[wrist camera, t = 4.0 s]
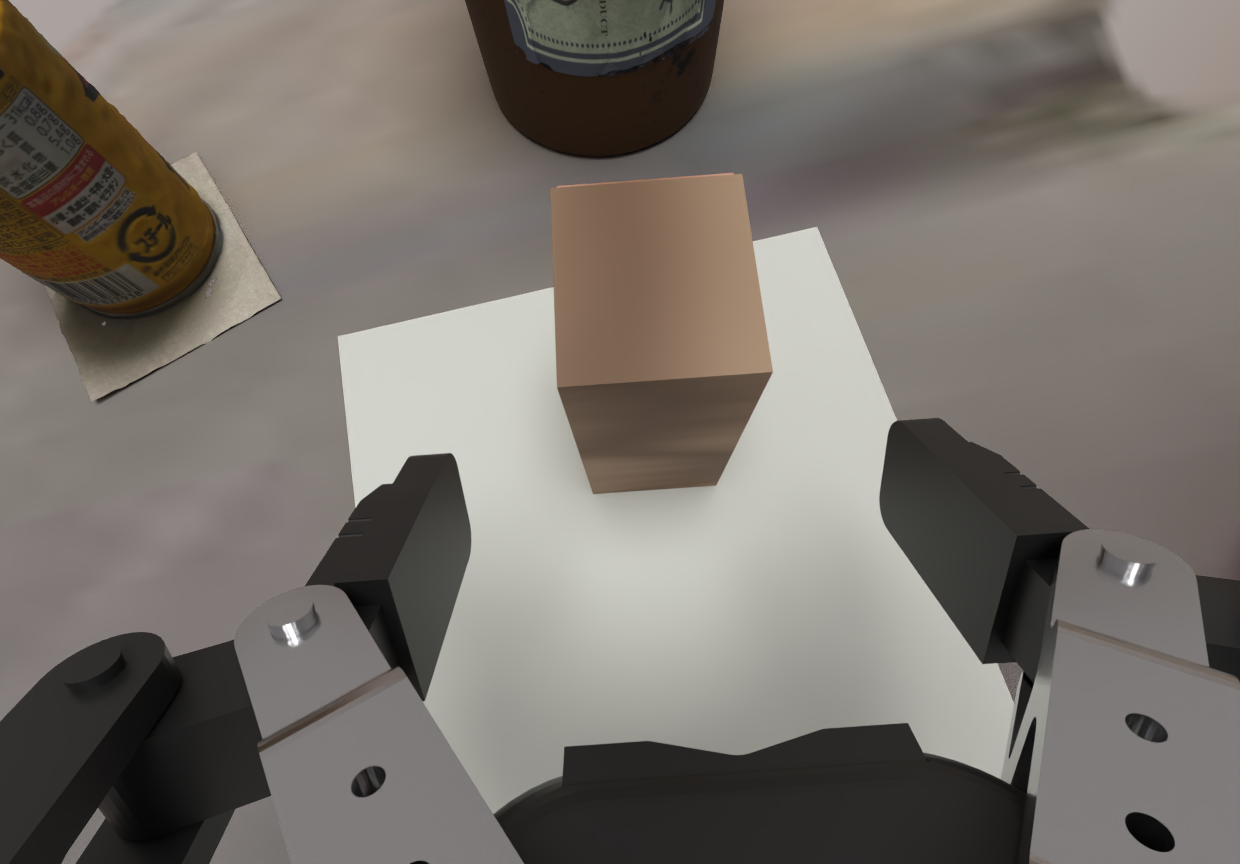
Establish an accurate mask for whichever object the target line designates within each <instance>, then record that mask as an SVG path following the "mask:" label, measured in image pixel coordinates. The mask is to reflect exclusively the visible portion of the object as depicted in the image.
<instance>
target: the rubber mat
mask: <svg viewBox="0 0 1240 864" xmlns="http://www.w3.org/2000/svg"><path fill="white" fill-rule="evenodd" d="M753 247H754V253H755V260H756V266H757V273H758V279H759V286H760V292H761V298H762V305H763V311H764V318H765V324H766V330H767V337H768V343H769V350H770V356H771V363H772V369H773V373H772V375H771V377H770V379H769V381H768V383H767V385H766V387H765V389H764V391H763V393H762V395H761V397H760V399H759V401H758V403H757V405H756V407H755V409H754V411H753V413H752V415H751V417H750V419H749V421H748V423H747V425H746V427H745V429H744V431H743V433H742V435H741V437H740V439H739V441H738V443H737V445H736V447H735V449H734V451H733V453H732V455H731V457H730V459H729V461H728V463H727V465H726V467H725V469H724V471H723V473H722V475H721V477H720V479H719V481H718V483H717V485H716V486H703V487H689V488H674V489H660V490H646V491H631V492H617V493H603V494H593V492H592V489H591V486H590V483H589V480H588V478H587V475H586V472H585V469H584V466H583V463H582V460H581V457H580V454H579V451H578V448H577V445H576V442H575V439H574V436H573V433H572V430H571V427H570V424H569V421H568V419H567V416H566V413H565V410H564V407H563V404H562V401H561V398H560V395H559V392H558V389H557V374H556V344H555V314H554V287H552V288H548V289H543V290H539V291H535V292H530V293H526V294H521V295H517V296H513V297H508V298H504V299H500V300H495V301H491V302H486V303H482V304H478V305H473V306H469V307H465V308H460V309H456V310H451V311H447V312H443V313H438V314H434V315H430V316H425V317H421V318H416V319H412V320H408V321H403V322H399V323H395V324H390V325H386V326H381V327H377V328H373V329H368V330H364V331H360V332H355V333H351V334H347V335H342V336H338V344H339V353H340V363H341V373H342V382H343V392H344V401H345V411H346V421H347V430H348V440H349V449H350V459H351V469H352V478H353V488H354V497H355V507H357V505H358V504H359V502H360V501H361V500H362V499H363V498H365V497H366V496H367V495H369V494H370V493H371V492H372V491H374V490H375V489H376V488H378V487H379V486H380V485H382V484H393V482H394V480H395V479H396V477H397V475H398V474H399V472H400V470H401V469H402V467H403V465H404V463H405V462H406V460H407V459H408V457H410V456H415V455H429V454H442V453H452V454H453V456H454V457H455V459H456V462H457V466H458V470H459V475H460V479H461V484H462V489H463V493H464V498H465V502H466V507H467V512H468V516H469V521H470V527H471V553H470V557H469V561H468V564H467V567H466V570H465V574H464V577H463V580H462V583H461V587H460V590H459V593H458V596H457V599H456V603H455V606H454V609H453V612H452V616H451V619H450V622H449V625H448V628H447V632H446V635H445V638H444V641H443V645H442V648H441V651H440V654H439V657H438V661H437V664H436V667H435V670H434V674H433V677H432V680H431V683H430V686H429V690H428V693H427V696H426V699H425V701H423V703H424V705H425V706H426V708H427V709H428V711H429V713H430V714H431V716H432V717H433V719H434V721H435V722H436V724H437V725H438V727H439V729H440V730H441V732H442V733H443V735H444V737H445V738H446V740H447V741H448V743H449V745H450V746H451V748H452V749H453V751H454V753H455V754H456V756H457V757H458V759H459V761H460V762H461V764H462V765H463V767H464V769H465V770H466V772H467V773H468V775H469V777H470V778H471V780H472V781H473V783H474V785H475V786H476V788H477V789H478V791H479V793H480V794H481V796H482V797H483V799H484V801H485V802H486V804H487V805H488V807H489V808H490V810H491V812H492V813H493V814H494V813H495V812H497V811H498V810H499V809H500V808H502V807H503V806H504V805H506V804H507V803H508V802H510V801H511V800H513V799H514V798H516V797H518V796H519V795H521V794H523V793H524V792H526V791H528V790H529V789H531V788H533V787H536V786H538V785H540V784H542V783H544V782H546V781H548V780H551V779H554V778H557V777H560V776H563V761H564V747H566V746H581V745H595V744H610V743H624V742H639V741H653V742H658V743H664V744H670V745H676V746H682V747H688V748H694V749H700V750H706V751H712V752H718V753H724V754H730V755H745V754H749V753H752V752H755V751H758V750H761V749H764V748H767V747H770V746H773V745H776V744H779V743H782V742H785V741H788V740H791V739H794V738H797V737H800V736H803V735H806V734H809V733H812V732H815V731H818V730H821V729H826V728H841V727H855V726H869V725H884V724H898V723H908V724H909V726H910V728H911V730H912V732H913V734H914V736H915V738H916V740H917V741H918V743H919V745H920V747H921V749H922V751H923V752H924V753H929V754H934V755H937V756H941V757H945V758H949V759H952V760H956V761H958V762H961V763H964V764H967V765H969V766H972V767H975V768H977V769H980V770H982V771H984V772H986V773H988V774H991V775H993V776H995V777H997V778H999V779H1001V775H1002V769H1003V764H1004V758H1005V753H1006V747H1007V741H1008V736H1009V730H1010V725H1011V719H1012V714H1013V708H1014V702H1013V700H1012V697H1011V695H1010V692H1009V690H1008V688H1007V685H1006V683H1005V680H1004V678H1003V675H1002V673H1001V671H1000V668H999V666H998V663H993V664H982V663H981V661H980V660H979V659H978V657H977V656H976V654H975V653H974V651H973V650H972V649H971V647H970V646H969V644H968V643H967V642H966V640H965V639H964V637H963V636H962V635H961V633H960V632H959V630H958V629H957V627H956V626H955V625H954V623H953V622H952V620H951V619H950V618H949V616H948V615H947V613H946V612H945V610H944V609H943V608H942V606H941V605H940V603H939V602H938V601H937V599H936V598H935V596H934V595H933V593H932V592H931V591H930V589H929V588H928V586H927V585H926V584H925V582H924V581H923V579H922V578H921V576H920V575H919V574H918V572H917V571H916V569H915V568H914V567H913V565H912V564H911V562H910V561H909V560H908V558H907V557H906V555H905V554H904V552H903V551H902V550H901V548H900V547H899V545H898V544H897V543H896V541H895V540H894V538H893V537H892V535H891V534H890V533H889V531H888V530H887V528H886V527H885V524H884V522H883V519H882V516H881V512H880V504H879V495H880V487H881V480H882V473H883V466H884V459H885V452H886V444H887V437H888V432H889V429H890V427H891V425H892V424H893V423H894V422H895V421H897V419H896V417H895V414H894V412H893V409H892V407H891V405H890V402H889V400H888V397H887V395H886V393H885V390H884V388H883V385H882V383H881V380H880V378H879V376H878V373H877V371H876V368H875V366H874V364H873V361H872V359H871V356H870V354H869V351H868V349H867V347H866V344H865V342H864V339H863V337H862V334H861V332H860V330H859V327H858V325H857V322H856V320H855V318H854V315H853V313H852V310H851V308H850V305H849V303H848V301H847V298H846V296H845V293H844V291H843V289H842V286H841V284H840V281H839V279H838V276H837V274H836V272H835V269H834V267H833V264H832V262H831V260H830V257H829V255H828V252H827V250H826V247H825V245H824V243H823V240H822V238H821V235H820V233H819V231H818V228H817V227H814V228H810V229H806V230H801V231H797V232H793V233H788V234H784V235H779V236H775V237H771V238H766V239H762V240H758V241H753Z"/></svg>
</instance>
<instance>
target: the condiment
mask: <svg viewBox="0 0 1240 864" xmlns="http://www.w3.org/2000/svg"><path fill="white" fill-rule="evenodd" d="M0 258H1V259H3V260H4V261H6V262H8V263H9V264H11V265H12V266H14V267H16V268H17V269H19V270H21V271H22V272H23V273H25V274H26V275H28V276H30V277H32V278H33V279H35V280H36V281H38V282H40V283H42V284H43V285H45V287H46V290H47V292H48V295H49V297H50V302H51V303H52V304H53V306H54V309H55V313H56V316H57V319H58V320H59V322H60V328H61V331H62V333H63V335H64V336H65V338H66V340H67V342H68V345H69V348H70V350H71V352H72V354H73V356H74V358H75V361H76V363H77V365H78V368H79V372H80V375H81V379H82V382H83V384H84V385H85V387H86V389H87V392H88V394H89V397H90V399H91V401H94V400H96V399H98V398H101V397H102V396H104V395H106V394H108V393H110V392H112V391H113V390H116V389H120V388H123V387H125V386H126V385H128V384H129V383H131V382H133V381H135V380H137V379H139V378H141V377H143V376H145V375H147V374H148V373H150V372H152V371H153V370H155V369H157V368H159V367H162V366H164V365H166V364H168V363H170V362H172V361H173V360H175V359H177V358H179V357H180V356H182V355H184V354H186V353H187V352H189V351H191V350H193V349H194V348H196V347H198V346H200V345H202V344H206V343H207V342H210V341H211V340H212V339H213V338H214V337H216V336H217V335H219V334H220V333H222V332H224V331H225V330H227V329H229V328H230V327H232V326H234V325H236V324H238V323H240V322H242V321H244V320H246V319H248V318H250V317H251V316H253V315H254V314H255V313H256V312H258V311H260V310H262V309H263V308H265V307H267V306H269V305H270V304H272V303H274V302H276V301H278V300H279V299H281V297H280V296H279V294H278V292H277V290H276V289H275V287H274V286H273V284H272V282H271V281H270V279H269V277H268V275H267V273H266V271H265V270H264V268H263V267H262V265H261V263H260V262H259V260H258V258H257V256H256V255H255V253H254V251H253V249H252V248H251V246H250V244H249V243H248V241H247V239H246V237H245V235H244V234H243V232H242V230H241V228H240V227H239V225H238V223H237V221H236V219H235V217H234V216H233V214H232V212H231V210H230V209H229V207H228V205H227V204H226V202H225V200H224V199H223V197H222V195H221V193H220V192H219V190H218V188H217V186H216V184H215V183H214V181H213V180H212V178H211V176H210V175H209V173H208V171H207V169H206V167H205V166H204V164H203V163H202V161H201V159H200V158H199V156H198V155H197V153H196V152H194V153H192V154H191V155H189V156H188V157H185V158H183V159H181V160H179V161H177V162H175V163H173V164H171V165H170V164H169V163H168V162H167V161H166V160H165V159H164V158H163V157H162V156H161V155H160V154H159V153H158V152H157V151H156V150H155V149H154V148H153V147H152V146H151V145H150V144H149V143H148V142H147V141H146V140H145V139H144V138H143V137H142V136H141V134H140V133H139V132H138V131H137V130H136V129H135V128H134V127H133V126H132V125H131V124H130V123H129V122H128V121H127V120H126V118H125V117H124V116H123V115H121V114H120V113H119V111H118V110H117V109H116V108H115V106H113V105H111V104H110V103H108V102H107V101H106V100H105V99H104V98H103V97H102V96H101V95H100V93H99V92H98V91H97V89H96V88H95V87H94V86H92V85H91V84H90V83H88V82H87V81H86V80H85V78H84V77H83V76H81V75H80V74H79V73H78V72H77V71H76V70H75V69H74V68H73V67H72V66H71V65H70V64H69V63H68V61H67V60H66V59H65V58H63V57H62V55H61V54H60V53H59V52H58V51H57V50H56V49H55V48H54V47H53V46H51V45H50V44H49V42H48V41H47V40H46V39H45V38H44V37H43V36H42V35H41V34H40V33H39V32H38V31H37V30H36V29H35V28H34V26H33V25H32V24H31V23H30V22H29V21H28V19H27V18H25V17H24V16H23V15H22V14H21V13H20V12H19V11H18V10H17V8H16V7H15V6H13V5H12V4H11V3H10V2H9V1H8V0H0ZM218 275H219V276H218ZM214 278H216V281H215V283H214V285H213V286H212V293H211V296H210V297H208V298H207V297H205V296H206V291H207V290H208V288H209V287H210V286H209V285H208V284H209V282H210V280H211V279H214ZM104 321H105V322H106V325H105V326H103V325H101V323H103V322H104Z"/></svg>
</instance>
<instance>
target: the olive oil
mask: <svg viewBox="0 0 1240 864" xmlns="http://www.w3.org/2000/svg"><path fill="white" fill-rule="evenodd" d="M465 2H466V5H467V8H468V11H469V15H470V18H471V21H472V25H473V28H474V31H475V34H476V38H477V41H478V44H479V48H480V51H481V54H482V57H483V61H484V64H485V67H486V71H487V74H488V77H489V80H490V83H491V86H492V90H493V92H494V95H495V98H496V100H497V102H498V104H499V106H500V108H501V110H502V111H503V113H504V114H505V116H506V117H507V118H508V119H509V121H510V122H511V123H512V124H513V125H514V126H515V127H516V128H517V129H518V130H520V131H521V132H522V133H523V134H525V135H526V136H528V137H529V138H531V139H533V140H534V141H536V142H538V143H540V144H542V145H544V146H547V147H549V148H552V149H555V150H558V151H562V152H566V153H571V154H577V155H585V156H609V155H617V154H623V153H628V152H632V151H636V150H639V149H642V148H645V147H648V146H650V145H653V144H655V143H657V142H659V141H661V140H663V139H665V138H666V137H668V136H670V135H671V134H673V133H674V132H676V131H677V130H678V129H679V128H681V127H682V126H683V125H684V124H685V123H686V122H687V121H688V120H689V119H690V118H691V117H692V116H693V115H694V114H695V112H696V111H697V110H698V108H699V107H700V105H701V104H702V102H703V100H704V98H705V96H706V94H707V91H708V88H709V85H710V82H711V77H712V73H713V67H714V61H715V55H716V49H717V42H718V36H719V29H720V23H721V17H722V10H723V4H724V0H465Z"/></svg>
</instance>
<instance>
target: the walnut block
mask: <svg viewBox="0 0 1240 864" xmlns="http://www.w3.org/2000/svg"><path fill="white" fill-rule="evenodd" d="M550 193H551V223H552V253H553V283H554V314H555V344H556V374H557V389H558V392H559V395H560V398H561V401H562V404H563V407H564V410H565V413H566V416H567V419H568V421H569V424H570V427H571V430H572V433H573V436H574V439H575V442H576V445H577V448H578V451H579V454H580V457H581V460H582V463H583V466H584V469H585V472H586V475H587V478H588V480H589V483H590V486H591V489H592V492H593V494H603V493H617V492H631V491H646V490H660V489H674V488H689V487H703V486H716V485H717V483H718V481H719V479H720V477H721V475H722V473H723V471H724V469H725V467H726V465H727V463H728V461H729V459H730V457H731V455H732V453H733V451H734V449H735V447H736V445H737V443H738V441H739V439H740V437H741V435H742V433H743V431H744V429H745V427H746V425H747V423H748V421H749V419H750V417H751V415H752V413H753V411H754V409H755V407H756V405H757V403H758V401H759V399H760V397H761V395H762V393H763V391H764V389H765V387H766V385H767V383H768V381H769V379H770V377H771V375H772V373H773V369H772V363H771V356H770V350H769V343H768V337H767V330H766V324H765V318H764V311H763V305H762V298H761V292H760V286H759V279H758V273H757V266H756V260H755V253H754V247H753V241H752V234H751V228H750V221H749V215H748V209H747V202H746V196H745V189H744V183H743V176H742V174H734V173H724V174H711V175H698V176H684V177H671V178H658V179H644V180H631V181H618V182H605V183H591V184H578V185H565V186H557V188H550Z"/></svg>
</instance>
